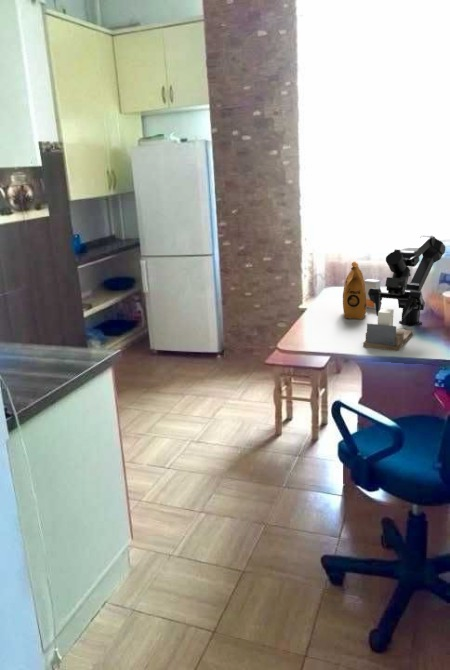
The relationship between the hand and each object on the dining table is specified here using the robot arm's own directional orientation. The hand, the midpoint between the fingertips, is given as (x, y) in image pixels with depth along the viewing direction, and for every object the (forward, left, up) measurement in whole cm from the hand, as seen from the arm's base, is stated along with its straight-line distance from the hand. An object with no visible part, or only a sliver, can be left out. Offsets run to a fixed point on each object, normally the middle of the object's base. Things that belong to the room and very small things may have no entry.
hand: (389, 316), depth 199 cm
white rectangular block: (+4, +3, -7) cm, 9 cm away
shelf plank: (0, 0, -9) cm, 9 cm away
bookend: (+8, +5, -7) cm, 12 cm away
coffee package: (-12, -33, -9) cm, 36 cm away
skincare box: (-27, -38, -9) cm, 48 cm away
